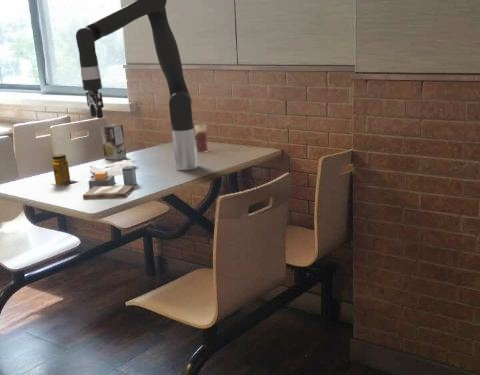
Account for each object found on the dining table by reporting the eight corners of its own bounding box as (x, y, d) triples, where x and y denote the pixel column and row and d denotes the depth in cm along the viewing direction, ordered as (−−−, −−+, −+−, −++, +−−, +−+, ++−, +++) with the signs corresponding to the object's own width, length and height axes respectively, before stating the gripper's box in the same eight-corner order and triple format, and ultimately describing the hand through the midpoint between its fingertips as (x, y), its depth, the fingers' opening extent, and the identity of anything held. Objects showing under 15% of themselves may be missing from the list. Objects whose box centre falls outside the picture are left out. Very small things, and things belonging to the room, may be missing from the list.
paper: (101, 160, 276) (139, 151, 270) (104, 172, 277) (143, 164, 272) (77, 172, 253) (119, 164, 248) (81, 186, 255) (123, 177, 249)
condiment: (51, 184, 246) (47, 156, 243) (68, 179, 253) (64, 152, 249) (61, 186, 242) (57, 158, 239) (79, 181, 248) (75, 153, 245)
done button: (108, 179, 241) (107, 171, 240) (105, 182, 237) (103, 173, 236) (98, 179, 241) (97, 171, 240) (95, 182, 237) (94, 174, 236)
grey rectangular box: (136, 183, 239) (134, 166, 237) (134, 186, 235) (132, 168, 233) (127, 183, 239) (125, 166, 237) (124, 186, 235) (122, 168, 233)
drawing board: (133, 188, 231) (133, 184, 231) (125, 197, 219) (124, 193, 219) (94, 190, 233) (93, 186, 232) (83, 198, 221) (82, 194, 221)
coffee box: (127, 157, 290) (123, 124, 286) (117, 160, 285) (113, 126, 281) (113, 156, 295) (109, 124, 291) (104, 159, 290) (99, 126, 285)
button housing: (114, 182, 243) (114, 175, 242) (108, 187, 235) (107, 180, 234) (96, 183, 244) (95, 176, 243) (89, 188, 236) (88, 181, 235)
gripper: (105, 77, 238) (111, 117, 242) (94, 76, 250) (100, 114, 254) (87, 79, 234) (93, 120, 238) (77, 78, 246) (83, 117, 250)
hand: (97, 117), depth 246 cm, fingers open, 8 cm apart
